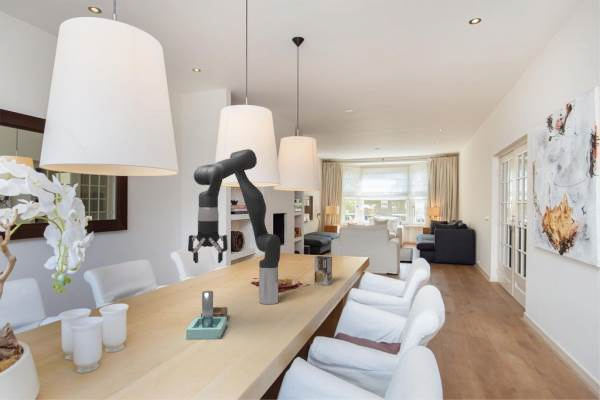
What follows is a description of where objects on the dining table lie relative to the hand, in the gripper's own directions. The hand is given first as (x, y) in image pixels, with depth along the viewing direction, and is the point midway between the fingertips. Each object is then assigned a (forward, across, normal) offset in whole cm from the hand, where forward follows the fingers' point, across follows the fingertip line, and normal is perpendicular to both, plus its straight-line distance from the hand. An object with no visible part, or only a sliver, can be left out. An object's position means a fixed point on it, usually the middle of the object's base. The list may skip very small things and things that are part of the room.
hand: (208, 262), depth 127 cm
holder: (+26, 0, -13) cm, 29 cm away
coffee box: (+26, -52, -74) cm, 94 cm away
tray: (+26, 0, 0) cm, 26 cm away
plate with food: (+27, -26, -73) cm, 82 cm away
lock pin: (+25, 0, 0) cm, 25 cm away
